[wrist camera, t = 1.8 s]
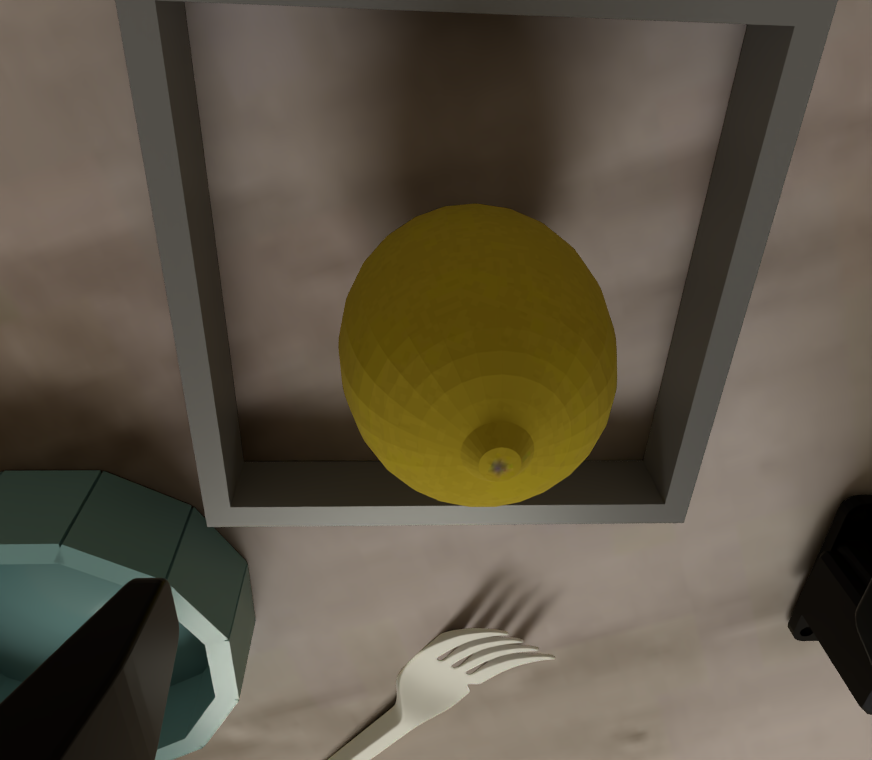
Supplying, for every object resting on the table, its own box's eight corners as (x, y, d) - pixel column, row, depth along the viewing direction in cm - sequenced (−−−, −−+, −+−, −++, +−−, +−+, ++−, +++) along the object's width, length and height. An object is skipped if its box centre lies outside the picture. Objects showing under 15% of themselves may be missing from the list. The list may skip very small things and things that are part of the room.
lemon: (332, 175, 16) (291, 329, 9) (567, 152, 16) (695, 288, 9) (364, 376, 19) (350, 606, 12) (564, 356, 19) (661, 574, 12)
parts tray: (789, -17, 15) (842, -14, 13) (660, 478, 22) (683, 522, 20) (142, -46, 14) (106, -48, 12) (222, 480, 21) (207, 527, 19)
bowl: (234, 469, 21) (212, 542, 18) (265, 690, 26) (251, 770, 23) (-136, 470, 20) (-214, 546, 17) (-26, 697, 25) (-73, 780, 23)
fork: (201, 825, 32) (191, 871, 30) (488, 581, 24) (495, 627, 22) (263, 843, 33) (256, 889, 31) (555, 618, 25) (566, 663, 24)
